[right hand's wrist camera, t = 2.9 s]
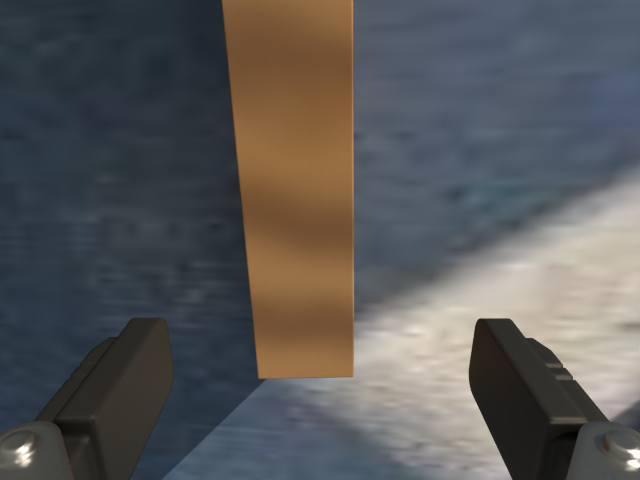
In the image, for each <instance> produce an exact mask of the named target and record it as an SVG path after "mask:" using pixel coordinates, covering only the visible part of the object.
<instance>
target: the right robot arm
mask: <svg viewBox="0 0 640 480" xmlns="http://www.w3.org/2000/svg"><path fill="white" fill-rule="evenodd" d="M172 383H173V363H172V356H171V349H170V342H169V335H168V328H167V324H166V321H165V319H164V318H132V319H131V320H130V321H129V322H128V324H127V325H126V326H125V328H124V329H123V330H122V332H121V333H120V334H119V336H118V337H110V338H108V339H107V340H105V341H104V342H102V343H101V344H99V345H98V346H96V347H95V348H93V349H92V350H91V351H90V352H89V354H88V355H87V356H86V357H85V358H84V360H83V361H82V362H81V363H80V367H77V368H76V370H75V371H74V372H73V373H72V374H71V376H70V379H67V381H66V382H65V383H64V384H63V385H62V387H61V388H60V389H59V390H58V392H57V393H56V394H55V395H54V397H53V398H52V399H51V400H50V401H49V403H48V404H47V405H46V406H45V408H44V409H43V410H42V411H41V412H40V414H39V415H38V416H37V417H36V419H35V420H34V421H33V422H27V423H23V424H20V425H17V426H14V427H12V428H9V429H7V430H5V431H3V432H1V433H0V480H130V478H131V476H132V474H133V472H134V469H135V467H136V465H137V463H138V461H139V459H140V457H141V454H142V452H143V450H144V448H145V446H146V444H147V441H148V439H149V437H150V435H151V433H152V431H153V429H154V426H155V424H156V422H157V420H158V418H159V416H160V413H161V411H162V409H163V407H164V405H165V403H166V400H167V398H168V396H169V394H170V391H171V388H172ZM469 383H470V388H471V391H472V394H473V396H474V399H475V401H476V403H477V405H478V407H479V409H480V411H481V414H482V416H483V418H484V420H485V422H486V424H487V426H488V428H489V431H490V433H491V435H492V437H493V439H494V441H495V443H496V445H497V448H498V450H499V452H500V454H501V456H502V458H503V460H504V462H505V465H506V467H507V469H508V471H509V473H510V475H511V477H512V480H640V433H639V432H637V431H635V430H633V429H631V428H628V427H626V426H623V425H620V424H617V423H613V422H609V420H608V419H607V418H606V417H605V415H604V414H603V413H602V412H601V411H600V409H599V408H598V407H597V406H596V405H595V403H594V402H593V401H592V400H591V398H590V397H589V396H588V395H587V394H586V392H585V391H584V390H583V389H582V387H581V386H580V385H579V384H578V383H577V381H576V380H573V377H572V375H571V374H570V373H569V372H568V370H567V369H566V368H563V364H562V363H561V362H560V361H559V360H558V358H557V357H556V356H555V355H554V353H553V352H552V351H551V350H550V349H548V348H547V347H545V346H544V345H542V344H541V343H539V342H538V341H536V340H535V339H533V338H525V337H524V336H523V334H522V333H521V332H520V330H519V329H518V328H517V326H516V325H515V324H514V322H513V321H512V320H511V319H478V321H477V322H476V326H475V332H474V338H473V345H472V352H471V358H470V365H469Z"/></svg>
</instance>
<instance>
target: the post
mask: <svg viewBox="0 0 640 480" xmlns="http://www.w3.org/2000/svg"><path fill="white" fill-rule="evenodd" d="M221 3H222V13H223V23H224V33H225V44H226V54H227V64H228V74H229V84H230V95H231V105H232V115H233V125H234V136H235V146H236V156H237V166H238V177H239V187H240V197H241V207H242V217H243V228H244V238H245V248H246V258H247V269H248V279H249V289H250V299H251V310H252V320H253V330H254V340H255V350H256V361H257V371H258V378H259V379H277V378H329V377H354V208H353V0H221Z"/></svg>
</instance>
